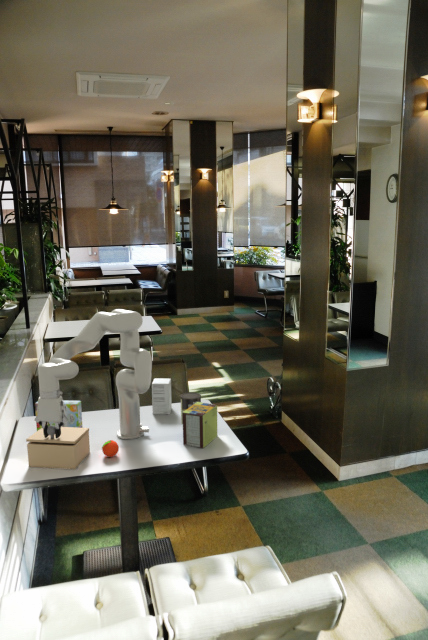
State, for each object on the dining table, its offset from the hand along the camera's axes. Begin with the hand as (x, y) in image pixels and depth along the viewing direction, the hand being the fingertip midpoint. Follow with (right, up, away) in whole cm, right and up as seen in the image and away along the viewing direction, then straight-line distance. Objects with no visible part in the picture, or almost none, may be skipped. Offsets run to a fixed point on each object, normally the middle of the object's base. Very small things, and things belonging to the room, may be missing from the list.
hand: (52, 436), depth 207 cm
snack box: (-8, -6, +38) cm, 39 cm away
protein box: (+60, -8, +26) cm, 66 cm away
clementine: (+21, -11, +10) cm, 26 cm away
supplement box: (+38, -1, +64) cm, 74 cm away
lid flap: (+1, -1, +6) cm, 6 cm away
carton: (+1, -12, +8) cm, 14 cm away
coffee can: (+54, -4, +48) cm, 72 cm away
